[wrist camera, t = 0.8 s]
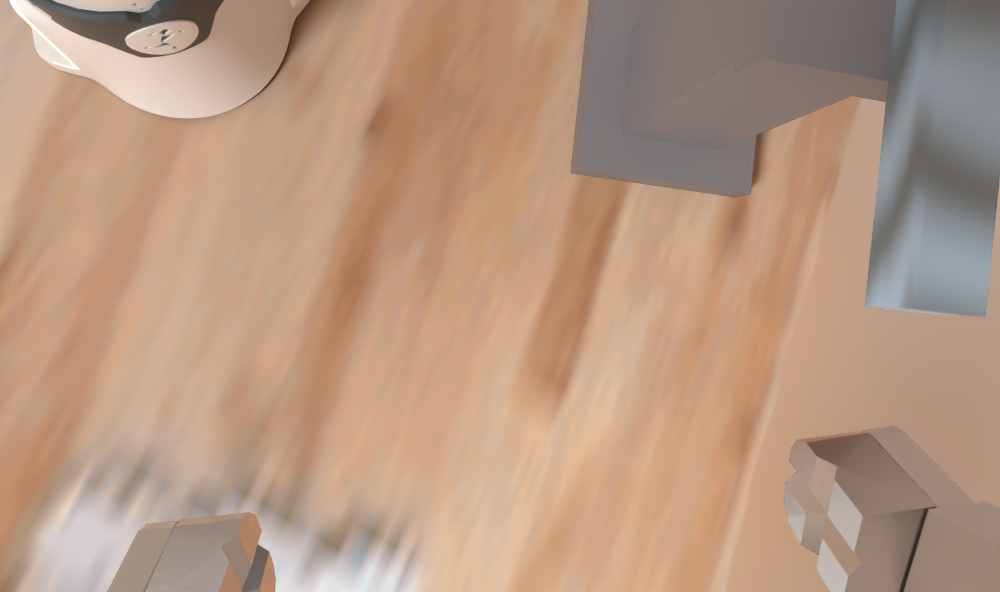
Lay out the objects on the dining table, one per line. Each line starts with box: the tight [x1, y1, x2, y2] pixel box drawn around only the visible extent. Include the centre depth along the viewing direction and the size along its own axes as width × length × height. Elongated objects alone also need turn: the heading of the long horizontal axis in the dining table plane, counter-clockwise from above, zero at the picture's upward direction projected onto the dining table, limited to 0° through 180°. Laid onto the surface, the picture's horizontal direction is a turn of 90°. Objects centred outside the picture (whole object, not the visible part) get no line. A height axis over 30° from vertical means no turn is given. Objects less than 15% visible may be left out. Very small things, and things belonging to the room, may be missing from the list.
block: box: [865, 0, 1000, 317], centre depth 25 cm, size 22×3×2 cm, turn 174°
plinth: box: [571, 0, 897, 197], centre depth 39 cm, size 14×14×26 cm
